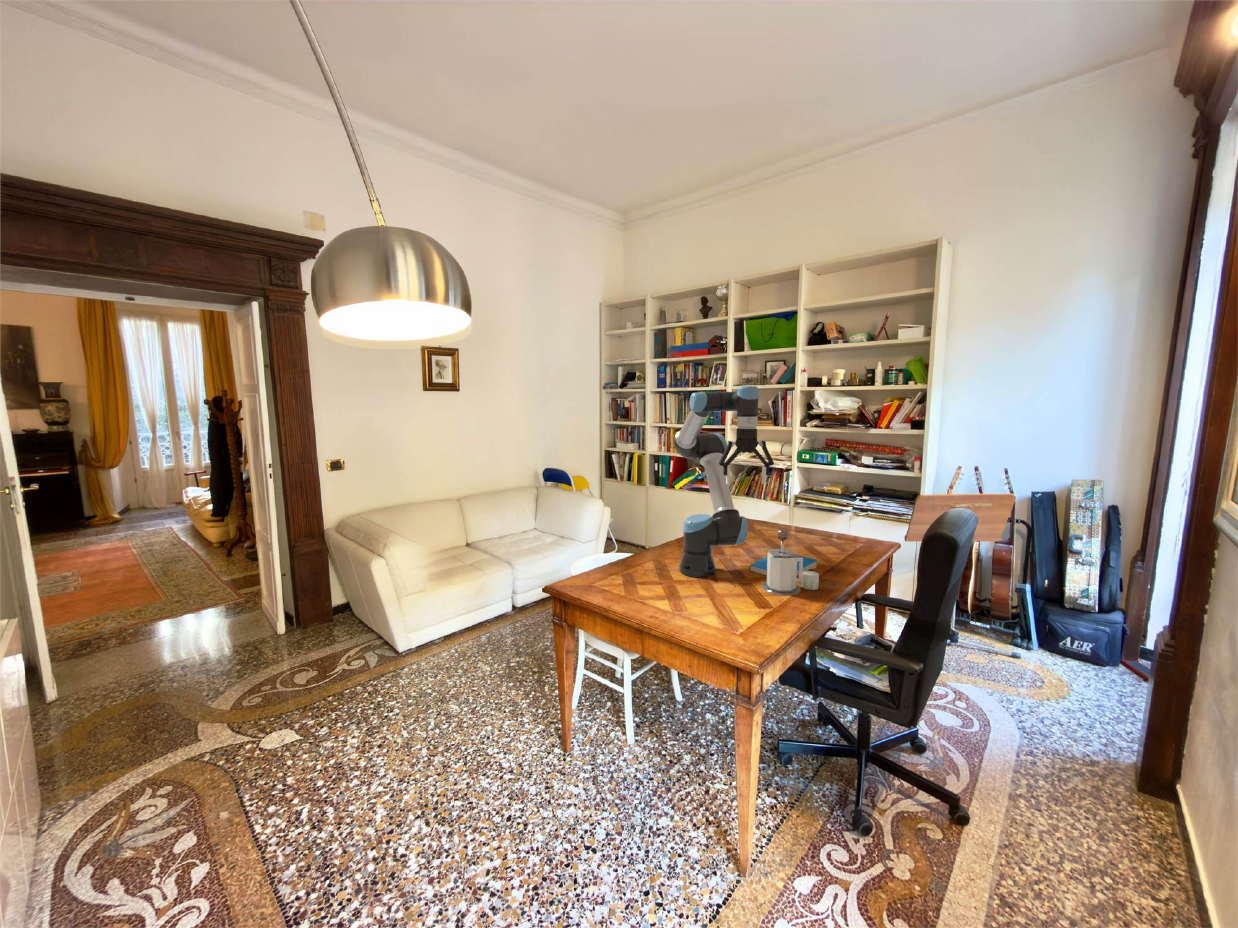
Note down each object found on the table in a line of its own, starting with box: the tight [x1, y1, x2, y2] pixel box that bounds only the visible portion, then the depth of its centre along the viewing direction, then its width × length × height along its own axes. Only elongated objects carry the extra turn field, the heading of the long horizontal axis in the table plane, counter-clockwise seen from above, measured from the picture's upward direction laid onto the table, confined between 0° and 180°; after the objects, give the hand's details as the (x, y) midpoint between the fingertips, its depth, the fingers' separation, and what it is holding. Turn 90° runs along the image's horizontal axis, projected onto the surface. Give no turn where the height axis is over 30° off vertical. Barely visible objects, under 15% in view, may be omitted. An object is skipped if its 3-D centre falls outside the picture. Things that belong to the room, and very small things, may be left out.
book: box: [749, 554, 818, 576], centre depth 202 cm, size 17×4×25 cm
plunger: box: [777, 528, 789, 554], centre depth 179 cm, size 4×4×16 cm
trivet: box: [761, 581, 802, 596], centre depth 181 cm, size 14×14×1 cm
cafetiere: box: [766, 548, 803, 593], centre depth 180 cm, size 10×13×14 cm
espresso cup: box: [800, 570, 820, 591], centre depth 181 cm, size 7×6×6 cm
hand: (745, 483), depth 182 cm, fingers open, 13 cm apart
